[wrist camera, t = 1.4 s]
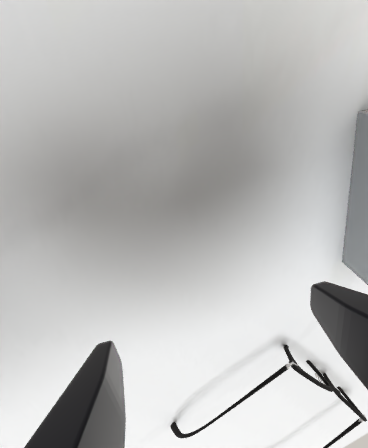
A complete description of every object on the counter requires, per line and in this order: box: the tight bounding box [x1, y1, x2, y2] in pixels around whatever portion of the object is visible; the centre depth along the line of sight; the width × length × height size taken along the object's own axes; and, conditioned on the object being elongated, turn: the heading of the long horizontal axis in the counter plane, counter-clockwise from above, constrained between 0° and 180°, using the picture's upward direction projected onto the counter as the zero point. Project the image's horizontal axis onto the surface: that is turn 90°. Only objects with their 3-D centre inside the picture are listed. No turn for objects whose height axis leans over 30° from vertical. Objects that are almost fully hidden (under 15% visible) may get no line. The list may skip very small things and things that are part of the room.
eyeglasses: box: [171, 345, 367, 448], centre depth 32 cm, size 16×16×4 cm
